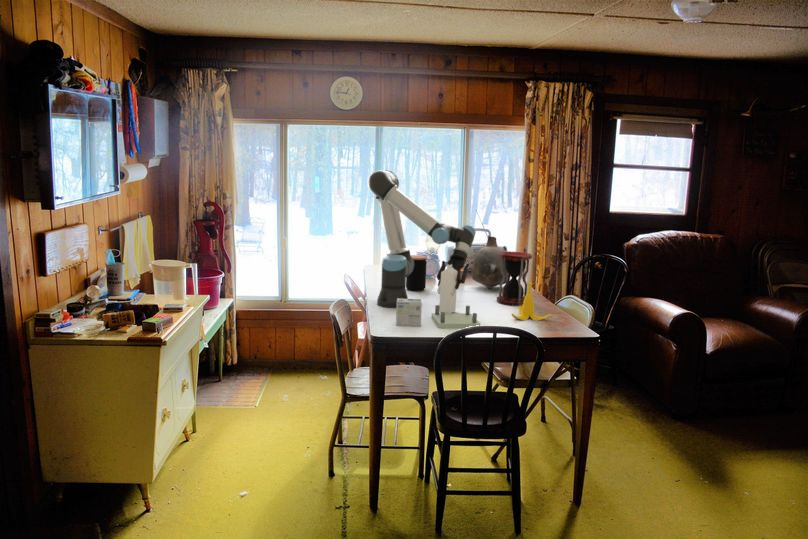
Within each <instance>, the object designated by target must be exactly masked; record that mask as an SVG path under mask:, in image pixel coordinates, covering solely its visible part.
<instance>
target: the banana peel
mask: <svg viewBox="0 0 808 539" xmlns="http://www.w3.org/2000/svg"><path fill="white" fill-rule="evenodd" d="M532 285H533V283H532V282H527V294H526V296H525V299H524V302H523V305H521V306H518V315H519V316H518V315H515V314H514V313H510V315H511V316H512V317H513V318H514V319H517V320H520V321H528V319H529V318H531V320H533V321H541V320H545V319H547V318H549V317H550V316H552V313H549V314H547V315H541V316H536V315H535V302H534V297H533V293H532Z"/></svg>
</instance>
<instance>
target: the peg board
mask: <svg viewBox="0 0 808 539" xmlns="http://www.w3.org/2000/svg"><path fill="white" fill-rule="evenodd" d="M439 307H440V306H439V304H436V305H435V309H434V310H435V311H434V312H431V319H432V321H433V322H434V324H435V325H436V327H437V328H438V329H466V328H465V327H469V326H476V325H480V326H481V322H479V321H478V313H477V312H473V313H470V311H471V306H470V305H465V313H456V312H455V313H454V312H453V313H444V312H439Z"/></svg>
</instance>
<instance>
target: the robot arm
mask: <svg viewBox="0 0 808 539" xmlns="http://www.w3.org/2000/svg"><path fill="white" fill-rule="evenodd" d="M367 185H368V189H369V190H370V192H372V194H373V195H375V196H374V197H375V200H376V201H377V202H379V205H380V209H381V210H380V211H381V215H382V219H383V220H382V221H383V225H384V230H385V237H386V242H387V246H388V251H387V253H386V255H385V256H384V257H383V258H382V261H381V287H380V290H379V294H378V296H377V301H376V302H377V303H376V305H378V306H380V307H385V308H397V298H399V299H409V297H408V294H407V290H406V289H407V288H406V277H407V276H409V275H410V274H411V273H412V271H413V269H414V260H413V258H412V257H411V252H410V249H409V248H408V247H407V245H406V241H405V234H404V229H403V225H402V220H401V214H402V215H403V216H405V217H406V218H407V219H408V220H409V221H411V223H413V224H415V225H416V226H417V227H418V228H420V229H421V230H422V231H423V232H425V234H427V235H428V236H429V237H430V238H432V241H433V242H434V243H435V244H438V245H442V244H446V243H447V242H450V243H455V244H454V246H453V249H452V252H451V254H450V257H449V259H448V260H447V261H445V260H442V261H441V266H440V268H439V270H438V273H437V275H436V279H437V280H438V283H437V293H438V294H439V295H440V283H441V272H442V271H444V270H446V269H447V266H448V265H451V264H452V268H454V269H455V270H456V271H458V275H457V281H455V282H454V285H453V288H452V290H451V294H452V296H454V293H455V291H456V289H457V290H459V287H460V285H461V284H465V282H466V279H467V275H468V273H469V272H468V271H469V270H470V268H471V267H470V263H466V261H467V259H468V256H469V253H470V250H471V249H472V248H471V247H472V245H473V243H474V240H475V236H476V229H475V227H473V226H471V225H468V224H464V225H462V226H461V227H456V226H453V225H450V224H445V223H442V222H438V220H436V219H435V218H434V217H433V216H431V215H430V214H429V213H428V212H426V211H425V210H424V209H423V208H422V207H421V206H419V205H418V204H416V203H415V202H414V201H413V200H412V199H410V198H409V197H408V196H407V195H405V194H404V193H403V192H402V191H401V190H399V185H400V180H399V177H398V176H397V174H396V173H394V172H393V171H391V170H388V169H385V170H383V169H382V170H376V171H374V172H372V173H371V174H370V176H369V177H368V180H367ZM400 213H401V214H400ZM461 269H463V271H461ZM461 272H462V274H461Z"/></svg>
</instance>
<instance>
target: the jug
mask: <svg viewBox="0 0 808 539" xmlns="http://www.w3.org/2000/svg"><path fill="white" fill-rule="evenodd" d="M500 252H507V247H506V246H505V245H503V247H500V246H498V243H497V237H495V236H491V235H490V234H488V235H487V240H486V245H484V247H481V248H480V249H479V250H478V251H477V253H476V254H475V255H474V258H473V262H472V266H471V278H472V280H473V281H474V282H477V283H478V284H481V285H483V286H484V287H486V288H488V289H492V288H495V287H497V286H500V283H501V282H502V280H503V275H502V274H501V259H502V257H500ZM504 264H505V259H504V262H503V273H504V274H505V277H506V279H505V282H504V283H503V285H505V284H506V281H507V279H508V272H507V271H506V269H505V265H504Z"/></svg>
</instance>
